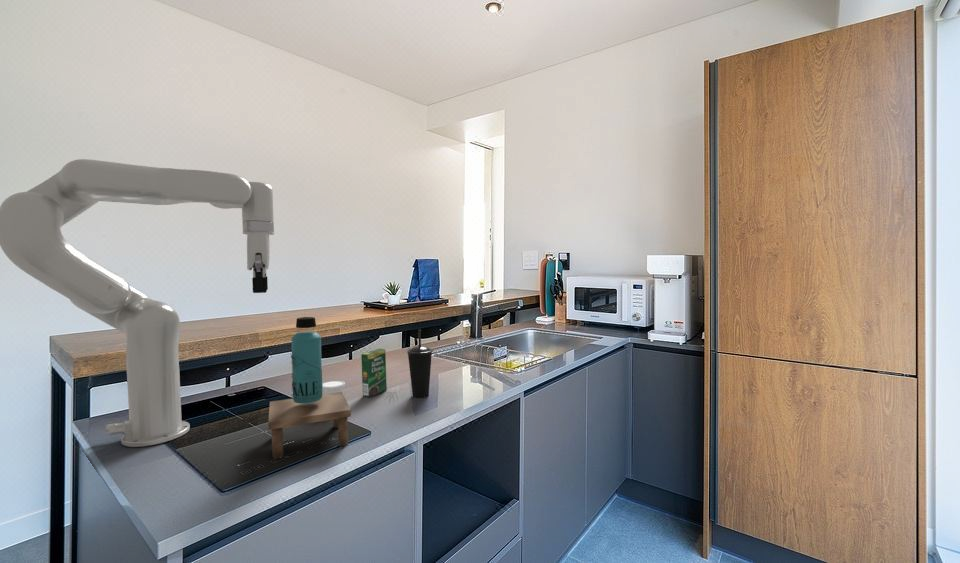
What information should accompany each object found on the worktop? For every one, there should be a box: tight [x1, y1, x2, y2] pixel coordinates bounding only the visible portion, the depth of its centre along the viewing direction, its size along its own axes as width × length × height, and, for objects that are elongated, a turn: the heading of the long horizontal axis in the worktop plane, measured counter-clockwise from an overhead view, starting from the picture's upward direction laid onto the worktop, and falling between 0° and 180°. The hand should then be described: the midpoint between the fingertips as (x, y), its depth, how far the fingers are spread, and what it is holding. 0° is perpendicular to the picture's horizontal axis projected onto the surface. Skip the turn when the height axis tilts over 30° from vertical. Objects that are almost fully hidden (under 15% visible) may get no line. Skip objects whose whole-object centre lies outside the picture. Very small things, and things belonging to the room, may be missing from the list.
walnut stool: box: [267, 392, 352, 460], centre depth 93 cm, size 16×14×8 cm
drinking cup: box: [406, 328, 434, 399], centre depth 124 cm, size 8×8×20 cm
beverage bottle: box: [290, 316, 324, 403], centre depth 93 cm, size 6×7×20 cm
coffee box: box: [361, 348, 388, 398], centre depth 126 cm, size 8×3×13 cm, turn 150°
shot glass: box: [322, 380, 346, 398], centre depth 113 cm, size 7×7×7 cm
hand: (260, 291), depth 113 cm, fingers open, 9 cm apart
